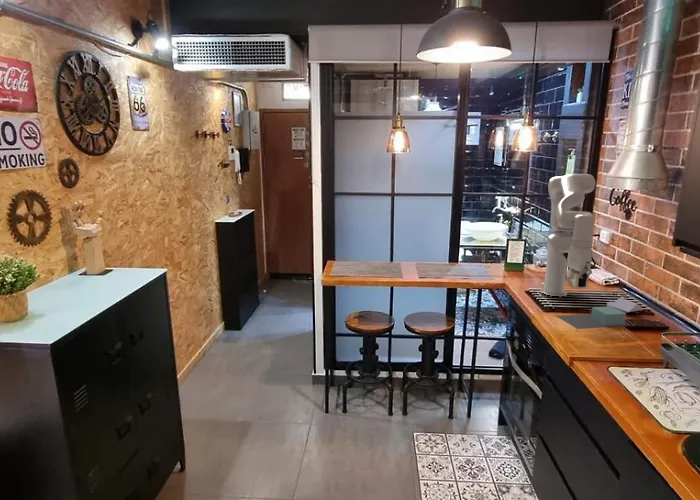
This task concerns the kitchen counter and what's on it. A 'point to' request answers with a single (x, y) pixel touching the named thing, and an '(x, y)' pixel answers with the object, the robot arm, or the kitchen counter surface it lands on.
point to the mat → (583, 321)
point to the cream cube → (574, 278)
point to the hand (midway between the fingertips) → (576, 284)
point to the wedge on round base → (624, 305)
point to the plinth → (608, 316)
